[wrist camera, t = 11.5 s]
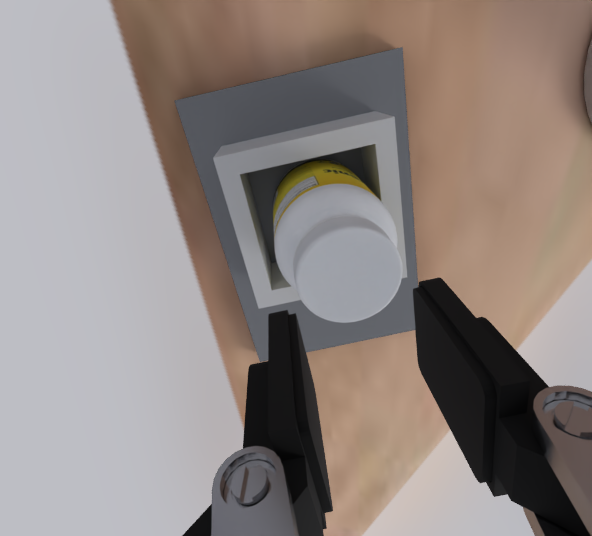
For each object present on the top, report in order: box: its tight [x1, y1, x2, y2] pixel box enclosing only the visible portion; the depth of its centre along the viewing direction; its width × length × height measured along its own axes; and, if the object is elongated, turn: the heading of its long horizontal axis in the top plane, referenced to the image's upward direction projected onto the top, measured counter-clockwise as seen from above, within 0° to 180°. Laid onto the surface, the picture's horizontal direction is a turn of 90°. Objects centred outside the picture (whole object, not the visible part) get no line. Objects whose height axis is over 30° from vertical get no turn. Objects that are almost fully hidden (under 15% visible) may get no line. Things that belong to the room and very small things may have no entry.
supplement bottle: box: [273, 158, 403, 323], centre depth 18 cm, size 5×5×10 cm
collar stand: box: [175, 47, 418, 362], centre depth 22 cm, size 12×18×4 cm, turn 12°
